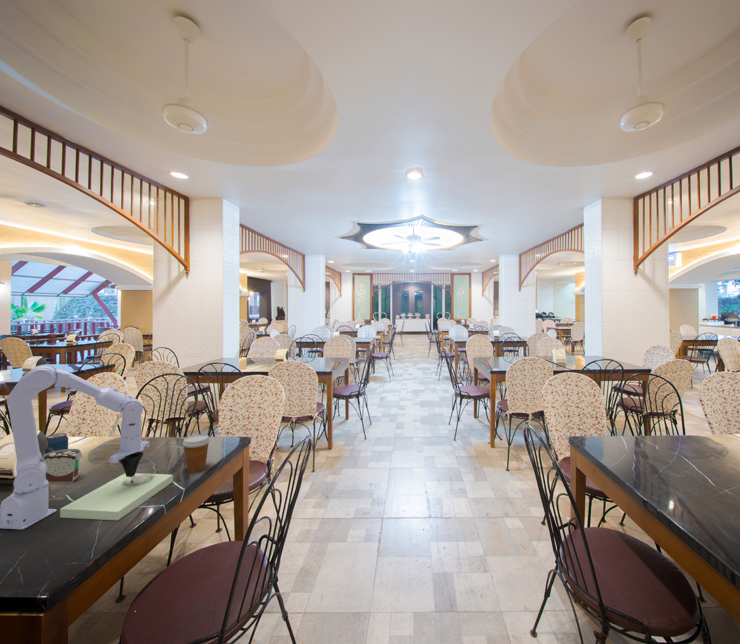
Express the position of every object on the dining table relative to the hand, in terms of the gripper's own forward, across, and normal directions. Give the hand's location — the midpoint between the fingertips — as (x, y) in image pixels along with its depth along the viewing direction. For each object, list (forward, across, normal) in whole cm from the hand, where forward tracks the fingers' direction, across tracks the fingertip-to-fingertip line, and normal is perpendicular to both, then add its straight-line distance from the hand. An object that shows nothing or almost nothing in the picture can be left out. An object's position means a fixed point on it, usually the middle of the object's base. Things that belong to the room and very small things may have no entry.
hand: (130, 476), depth 113 cm
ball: (+3, +4, 0) cm, 5 cm away
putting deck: (+6, -3, 0) cm, 6 cm away
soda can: (+6, +18, +46) cm, 49 cm away
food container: (+6, +8, +31) cm, 32 cm away
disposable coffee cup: (+6, +20, -11) cm, 23 cm away
